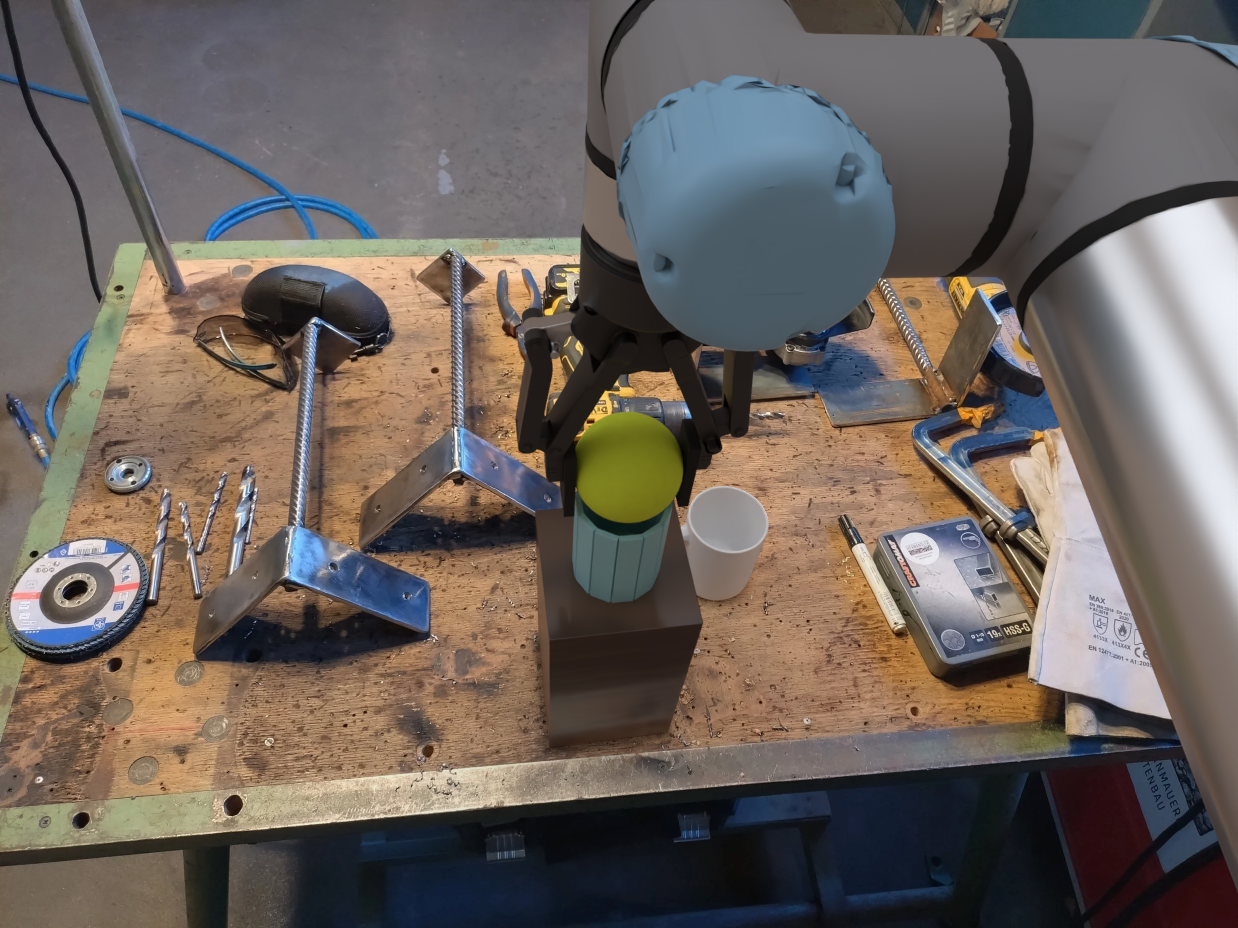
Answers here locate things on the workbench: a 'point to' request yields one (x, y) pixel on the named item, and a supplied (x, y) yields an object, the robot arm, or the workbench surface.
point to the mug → (723, 540)
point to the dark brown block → (611, 642)
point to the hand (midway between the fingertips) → (623, 496)
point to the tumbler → (617, 553)
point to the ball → (628, 467)
